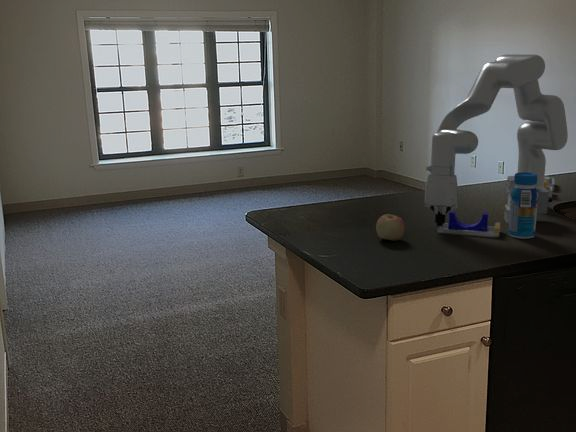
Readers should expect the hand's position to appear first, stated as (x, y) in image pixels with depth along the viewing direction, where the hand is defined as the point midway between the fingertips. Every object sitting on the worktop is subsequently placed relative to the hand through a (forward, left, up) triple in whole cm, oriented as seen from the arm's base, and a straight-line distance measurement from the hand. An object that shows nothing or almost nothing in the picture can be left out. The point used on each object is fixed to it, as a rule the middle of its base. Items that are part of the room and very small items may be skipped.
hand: (439, 225), depth 210 cm
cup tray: (-78, +29, -2) cm, 83 cm away
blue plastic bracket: (-1, +9, -2) cm, 9 cm away
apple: (+16, -13, -2) cm, 21 cm away
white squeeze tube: (0, +9, -2) cm, 9 cm away
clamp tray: (-62, +27, -2) cm, 68 cm away
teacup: (-77, +30, -2) cm, 83 cm away
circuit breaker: (-20, +27, -2) cm, 34 cm away
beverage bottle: (-1, +26, -2) cm, 26 cm away
